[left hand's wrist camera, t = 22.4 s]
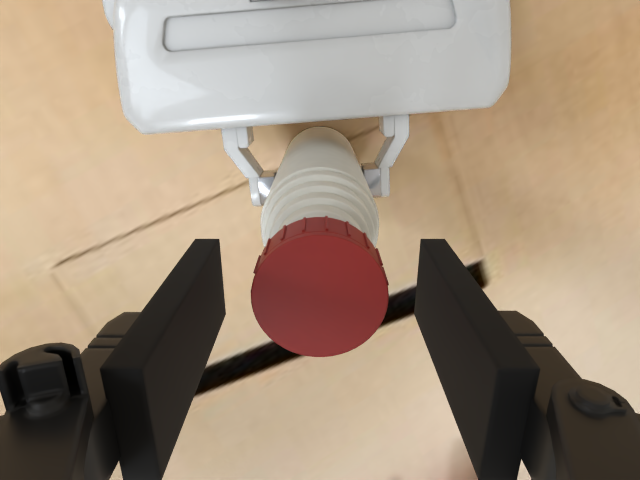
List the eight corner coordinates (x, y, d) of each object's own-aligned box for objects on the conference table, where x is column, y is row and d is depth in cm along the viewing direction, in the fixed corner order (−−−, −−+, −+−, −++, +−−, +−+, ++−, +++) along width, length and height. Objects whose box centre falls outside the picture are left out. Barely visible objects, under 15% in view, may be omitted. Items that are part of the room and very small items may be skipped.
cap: (383, 325, 15) (391, 355, 14) (264, 332, 15) (257, 362, 14) (381, 211, 14) (390, 229, 12) (249, 219, 14) (240, 238, 12)
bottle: (364, 137, 32) (428, 235, 13) (343, 204, 34) (372, 374, 15) (294, 117, 31) (256, 188, 13) (277, 186, 33) (220, 338, 14)
